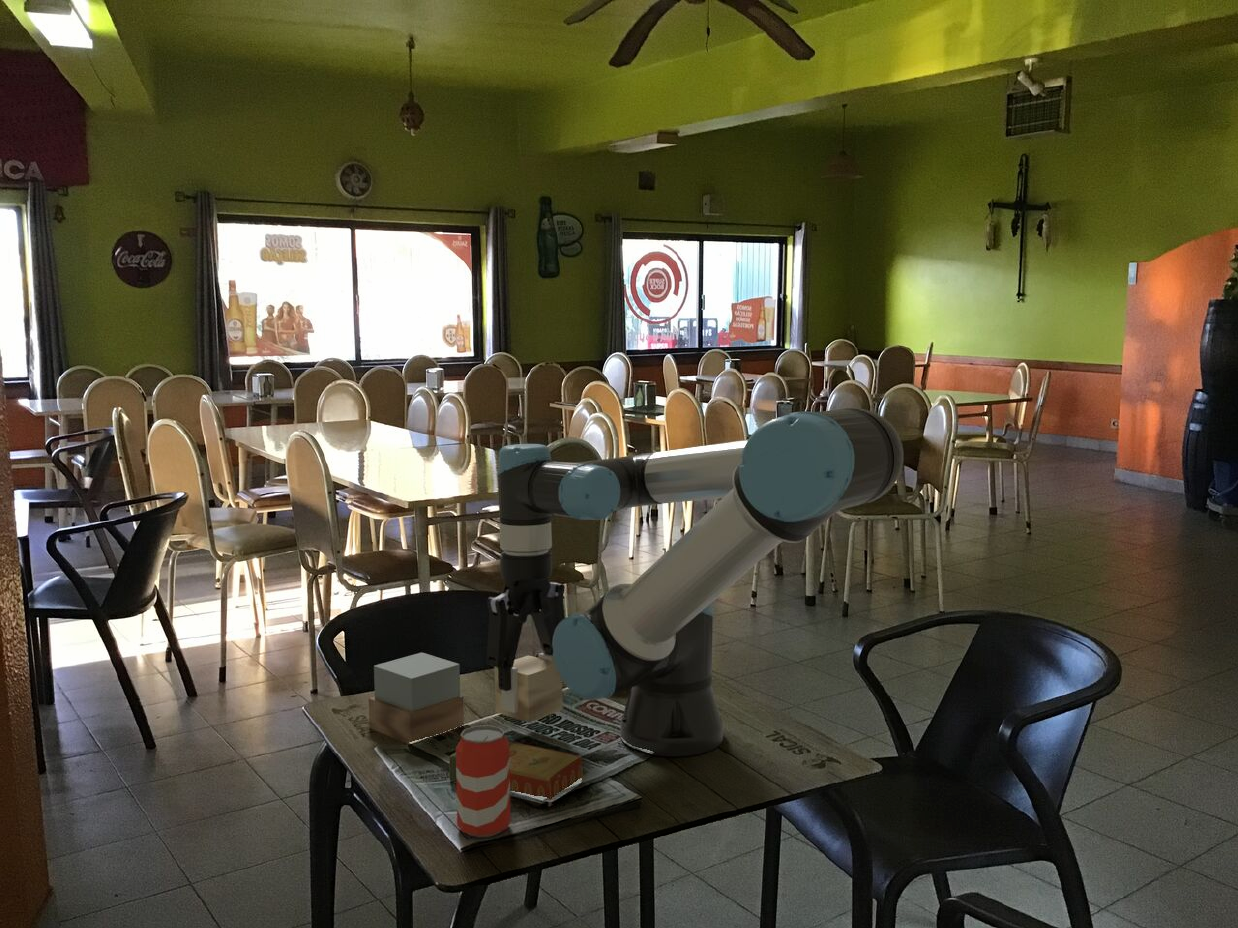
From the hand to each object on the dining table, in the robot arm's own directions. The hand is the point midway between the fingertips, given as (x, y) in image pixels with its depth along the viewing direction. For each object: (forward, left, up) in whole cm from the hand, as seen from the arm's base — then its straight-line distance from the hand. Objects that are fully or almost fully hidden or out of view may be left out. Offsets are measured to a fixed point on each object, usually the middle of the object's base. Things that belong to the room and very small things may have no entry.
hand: (529, 703), depth 161 cm
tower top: (+15, +9, 0) cm, 17 cm away
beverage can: (-18, +25, -5) cm, 31 cm away
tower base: (+15, +9, -5) cm, 18 cm away
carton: (-11, +13, -5) cm, 18 cm away
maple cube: (0, 0, -1) cm, 1 cm away
